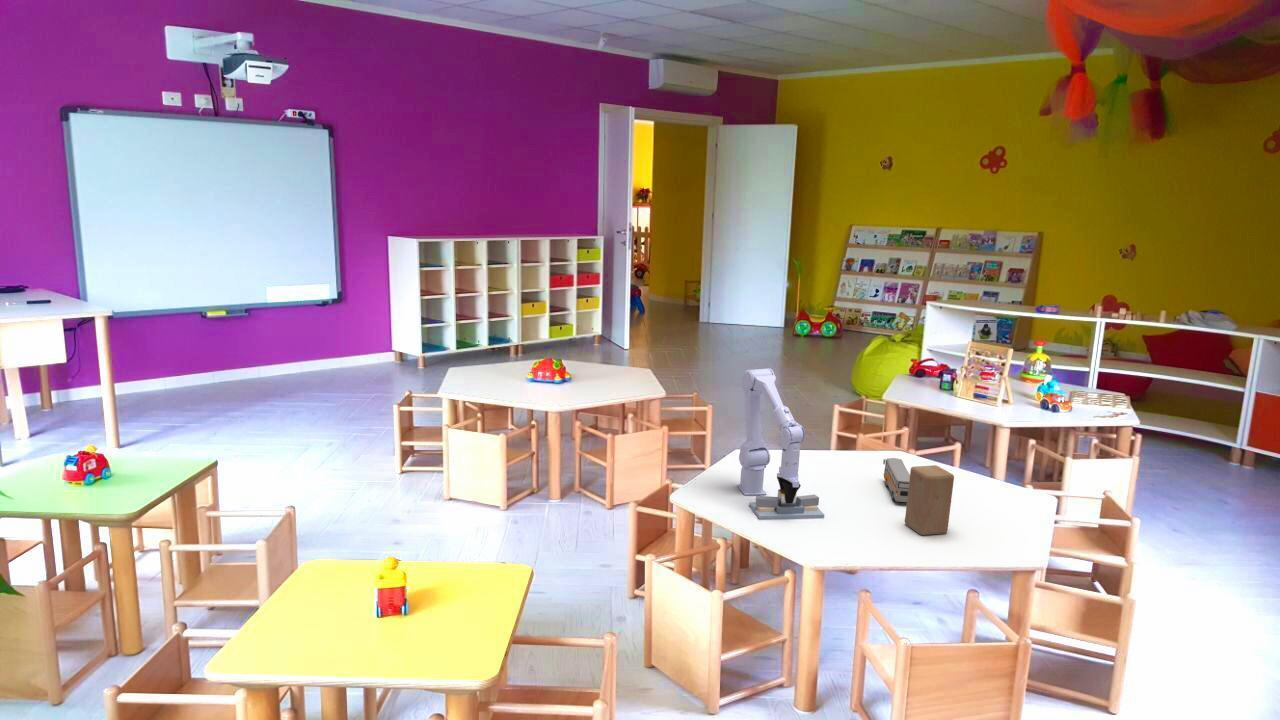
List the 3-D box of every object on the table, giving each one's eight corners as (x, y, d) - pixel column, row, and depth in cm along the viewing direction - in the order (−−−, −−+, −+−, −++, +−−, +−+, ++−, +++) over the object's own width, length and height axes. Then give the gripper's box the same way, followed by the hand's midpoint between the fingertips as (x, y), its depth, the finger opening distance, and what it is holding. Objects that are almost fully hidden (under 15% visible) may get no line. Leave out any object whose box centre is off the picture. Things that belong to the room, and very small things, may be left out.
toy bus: (899, 481, 315) (902, 456, 312) (913, 507, 290) (916, 480, 288) (881, 480, 315) (883, 454, 313) (893, 506, 291) (896, 478, 288)
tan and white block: (791, 505, 283) (792, 489, 282) (795, 510, 280) (796, 493, 278) (776, 506, 283) (778, 489, 281) (780, 510, 279) (781, 493, 277)
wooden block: (920, 536, 266) (927, 476, 262) (903, 524, 275) (909, 465, 271) (948, 534, 268) (955, 474, 264) (929, 521, 278) (936, 464, 274)
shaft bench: (749, 505, 285) (750, 491, 284) (811, 504, 289) (812, 489, 288) (759, 519, 274) (760, 504, 273) (824, 517, 277) (825, 503, 276)
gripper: (771, 454, 284) (768, 492, 287) (785, 469, 270) (782, 509, 273) (791, 454, 285) (788, 492, 288) (806, 468, 271) (803, 508, 274)
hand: (786, 500), depth 281 cm, fingers closed on tan and white block, 4 cm apart
